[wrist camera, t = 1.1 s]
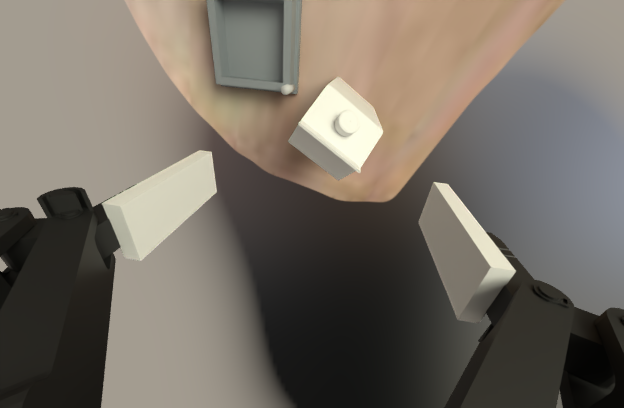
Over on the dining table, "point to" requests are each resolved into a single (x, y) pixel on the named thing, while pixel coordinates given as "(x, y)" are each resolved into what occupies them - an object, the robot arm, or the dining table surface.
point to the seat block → (256, 43)
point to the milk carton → (338, 130)
